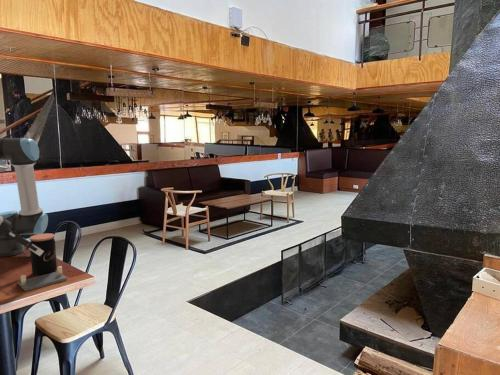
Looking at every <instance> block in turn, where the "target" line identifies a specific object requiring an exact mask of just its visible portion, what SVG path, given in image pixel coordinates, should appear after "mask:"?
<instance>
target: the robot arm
mask: <svg viewBox="0 0 500 375" xmlns="http://www.w3.org/2000/svg"><path fill="white" fill-rule="evenodd" d="M39 158H40V148H39V146H38V144H37V142H36V141H35V140H34V139H33V138H26V137H0V162H1V161H10V165H11V166H12V167H13V168H14V171H15V178H16V184H17V186H16V187H17V191H18V198H19V205H20V210H8V211H4V212H0V258H2V257H3V258H5V257H6V258H7V257H12V256H16V255H19V254H22V253H24V251H25V250H26V251H28V250H29V251H30V250H31V251H32V252H34V253H36V254H37V255H39V256H40V255H41V254H42V253H43V252H44V251H43V250H41V249H40V248H38V247H37V246H35V245H34V244H32V243H30V242H31V241H30V240H28V239H26V238H25V237H24V235H37V234H44V233H45V231H46V230H47V227H48V225H49V224H48V223H49V216H48V214H47V213H46V212H43V208H41V207H40V206H39V205H40V204H39V197H38V192H37V191H38V190H37V189H38V188H37V183H36V176H35V169H34V166H35V165H36V164H37V160H39Z"/></svg>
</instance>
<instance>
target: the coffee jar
mask: <svg viewBox="0 0 500 375" xmlns="http://www.w3.org/2000/svg"><path fill="white" fill-rule="evenodd" d="M55 236H56V235H55V234H54V233H50V232H49V233H42V234H35V235H34V234H32V235H31V236H30V237H29V241H30V243H32V244H34V245H35V246H37V247H38V248H40V249H41V250H43V251H44V252H43V253H42V254H41V255H40V256H39V255H37V254H36V253H34V252H32V251H31V250H29V252H30V262H31V263H30V265H31V273H32V274H33V275H34V276H41V275H45V274H49V273H53V272H57V267H58V263H57V251H56V249H57V248H56V240H55Z"/></svg>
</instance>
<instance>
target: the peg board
mask: <svg viewBox="0 0 500 375" xmlns="http://www.w3.org/2000/svg"><path fill="white" fill-rule="evenodd" d="M65 281H68V278H67V276H65V275H64V274H63V266H62V265H59V266H58V265H57V269H56V271H55V272H53V273H49V274H45V275H41V276H38V275H36V276H34V277H30V278H27V274H22V275H20V280H18V281H17V285H18V286H20V287H21V289H22V290H24V292H27V291H31V290H35V289H38V288H42V287H45V286H49V285H54V284H57V283H62V282H65Z"/></svg>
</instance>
